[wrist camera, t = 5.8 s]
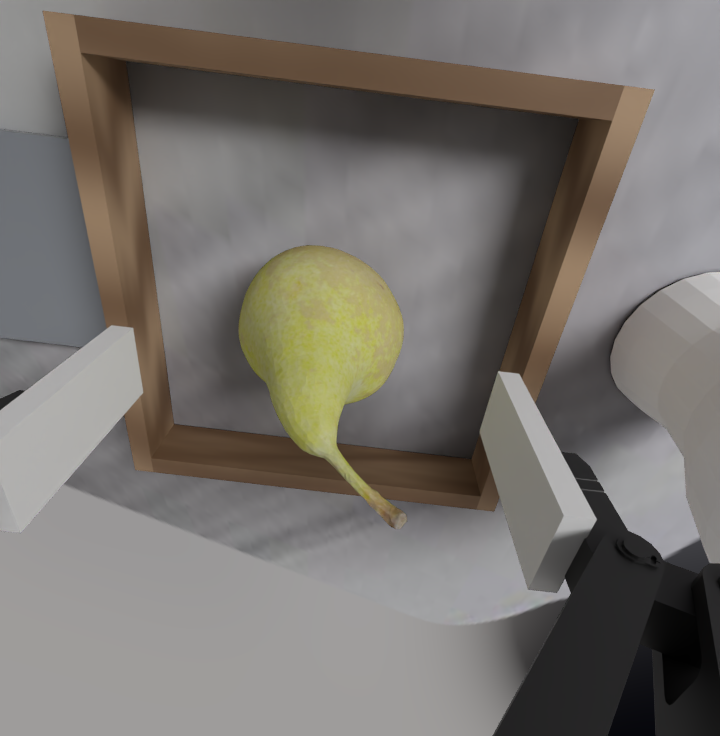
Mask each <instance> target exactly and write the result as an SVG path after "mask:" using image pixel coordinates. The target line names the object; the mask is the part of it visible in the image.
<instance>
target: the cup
mask: <svg viewBox="0 0 720 736" xmlns="http://www.w3.org/2000/svg"><path fill="white" fill-rule="evenodd" d="M610 362H611V374H612V377H613V379H614V381H615V384H616V386H617V388H618V389H619V390H620V391H621V392H622V393H623V394H624V395H625V396H626V397H627V398H628V399H629V400H630V401H631V402H632V403H634V404H635V405H636V406H637V407H638V408H639V409H641V410H642V411H643V412H644V413H646V414H647V415H648V416H650V417H651V418H652V419H654V420H655V421H656V422H658V423H659V424H660V425H662V426H663V427H664V428H666V429H667V430H668V432H669V434H670V435H671V437H672V439H673V440H674V442H675V443H676V445H677V447H678V448H679V450H680V452H681V453H682V455H683V457H684V467H685V484H686V497H687V500H688V503H689V506H690V509H691V512H692V515H693V518H694V521H695V524H696V527H697V530H698V532H699V535H700V538H701V541H702V544H703V547H704V550H705V553H706V555H707V557H708V560H709V562H710V563H720V272H710V273H704V274H700V275H696V276H693V277H689V278H685V279H682V280H680V281H678V282H676V283H674V284H672V285H670V286H668V287H666V288H664V289H662V290H660V291H658V292H657V293H656V294H654V295H653V296H652V297H650V298H649V299H648V300H646V301H645V302H644V303H642V304H641V305H640V306H639V307H638V308H637V309H636V310H635V312H634V313H633V314H632V315H631V316H630V317H629V318H628V319H627V320H626V321H625V323H624V325H623V326H622V328H621V330H620V332H619V334H618V335H617V337H616V339H615V341H614V345H613V349H612V353H611V357H610Z"/></svg>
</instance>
